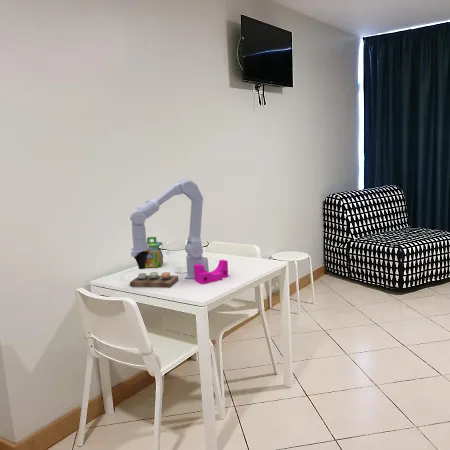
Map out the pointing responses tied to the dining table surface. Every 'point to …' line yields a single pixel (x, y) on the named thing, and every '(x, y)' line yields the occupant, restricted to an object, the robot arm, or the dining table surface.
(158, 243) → the chalk box
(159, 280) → the button panel
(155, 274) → the sage button
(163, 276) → the terracotta button
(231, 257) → the dining table surface
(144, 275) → the grey button
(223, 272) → the toy block
